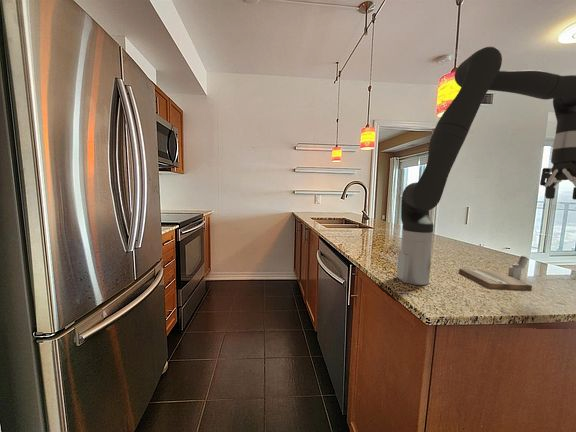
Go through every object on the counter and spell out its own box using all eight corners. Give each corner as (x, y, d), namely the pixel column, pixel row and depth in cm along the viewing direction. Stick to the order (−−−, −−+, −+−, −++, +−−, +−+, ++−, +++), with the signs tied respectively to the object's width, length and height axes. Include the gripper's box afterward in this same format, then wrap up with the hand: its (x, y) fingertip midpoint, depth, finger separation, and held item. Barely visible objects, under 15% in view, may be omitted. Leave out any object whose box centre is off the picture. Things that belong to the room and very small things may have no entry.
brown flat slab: (489, 288, 83) (489, 282, 83) (459, 272, 99) (459, 268, 98) (531, 289, 82) (532, 284, 82) (494, 273, 98) (494, 269, 98)
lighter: (512, 279, 92) (515, 257, 91) (507, 278, 93) (509, 256, 93) (526, 278, 94) (528, 256, 93) (520, 276, 96) (523, 255, 95)
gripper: (536, 150, 89) (530, 198, 90) (582, 143, 74) (574, 199, 76) (558, 151, 88) (552, 198, 90) (609, 143, 74) (600, 200, 76)
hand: (562, 199), depth 83 cm, fingers open, 8 cm apart
